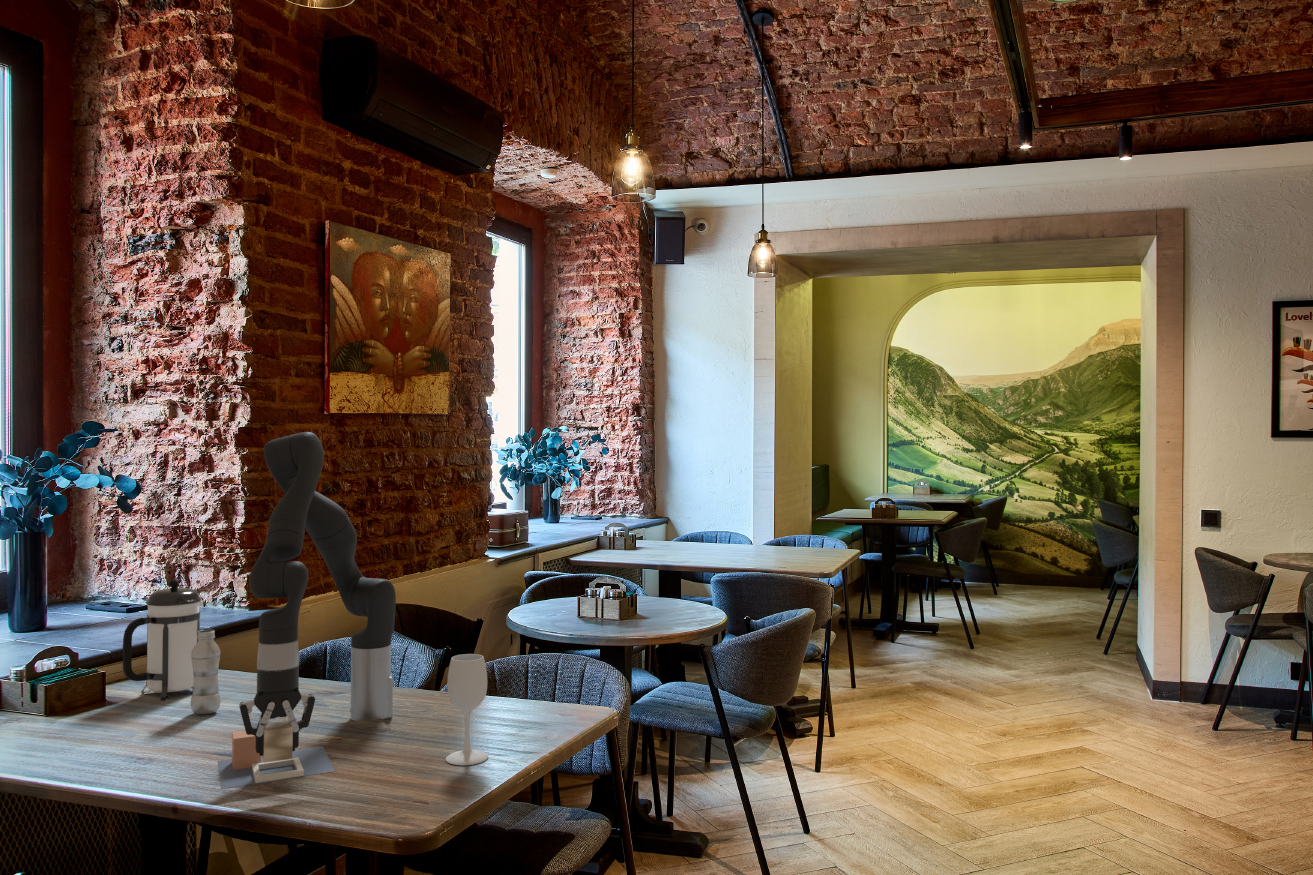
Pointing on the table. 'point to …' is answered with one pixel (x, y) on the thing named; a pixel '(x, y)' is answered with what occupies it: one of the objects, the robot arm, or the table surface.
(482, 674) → the wineglass
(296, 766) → the grey board
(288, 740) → the birch block
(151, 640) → the coffee press
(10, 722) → the table surface
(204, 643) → the plastic bottle
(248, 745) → the terracotta block
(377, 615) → the robot arm
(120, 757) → the table surface
